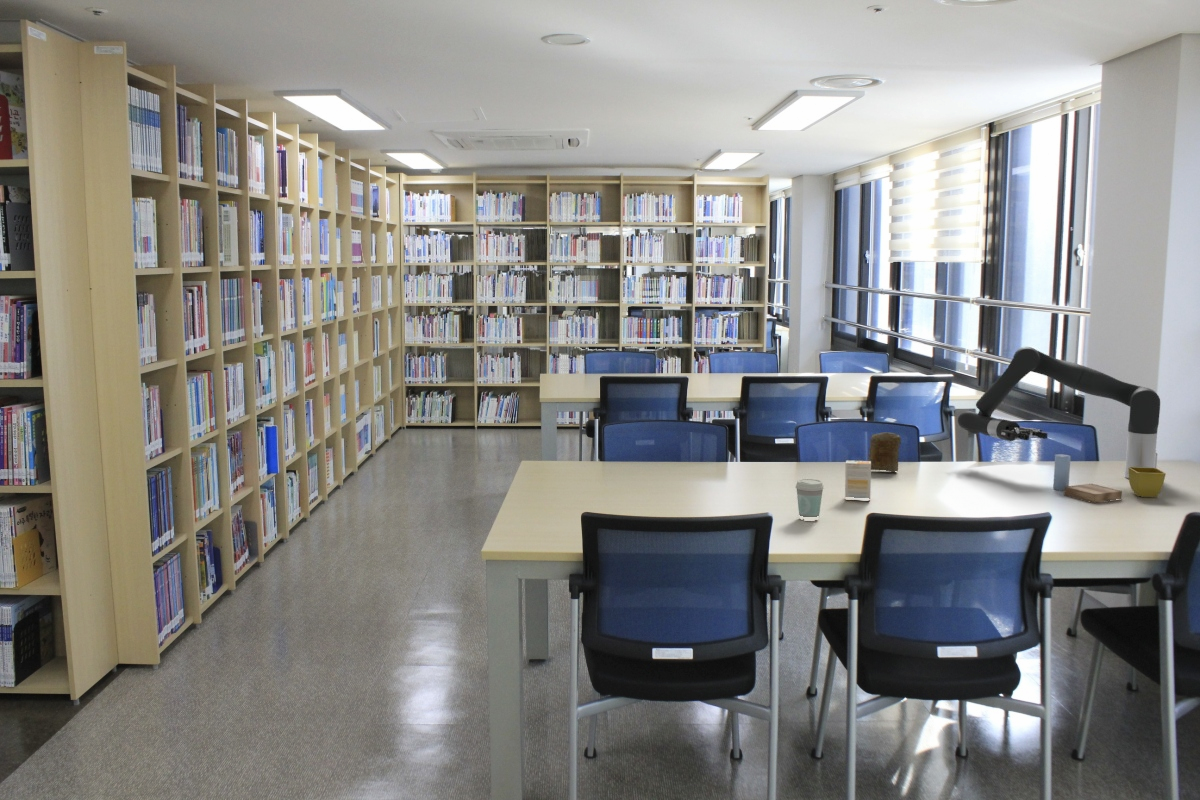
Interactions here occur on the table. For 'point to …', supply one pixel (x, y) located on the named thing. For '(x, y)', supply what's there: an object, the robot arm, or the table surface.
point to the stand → (1092, 493)
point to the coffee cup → (809, 497)
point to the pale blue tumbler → (1061, 472)
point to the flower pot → (1146, 481)
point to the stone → (884, 451)
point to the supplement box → (858, 479)
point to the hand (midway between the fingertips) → (1037, 436)
